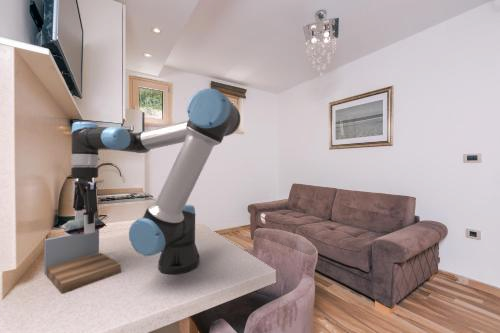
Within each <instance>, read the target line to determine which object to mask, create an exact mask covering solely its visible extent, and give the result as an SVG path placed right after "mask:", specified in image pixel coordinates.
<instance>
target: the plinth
mask: <svg viewBox="0 0 500 333" xmlns="http://www.w3.org/2000/svg"><path fill="white" fill-rule="evenodd" d="M120 273H121V263H120V262H118V261H116V260H114V259H112V258H110V257H109V256H107V255H106V254H103V253H101V252H99V253H97V254H94V255H90V256H86V257H83V258H79V259H76V260H72V261H68V262H65V263H61V264H57V265H54V266H50V267H47V275H46V277H47V278H48V279H49V281H50V282H51V283H52V285H53V286H55V288H56V289H57V290H58V292H60V294H61V295H63V294H66V293H69V292H71V291H74V290H77V289H79V288H82V287H85V286H87V285H90V284H93V283H97V282H98V281H101V280H104V279H107V278H110V277H112V276H115V275H117V274H120Z"/></svg>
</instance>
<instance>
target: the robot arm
mask: <svg viewBox="0 0 500 333" xmlns="http://www.w3.org/2000/svg"><path fill="white" fill-rule="evenodd" d="M186 112H187V117H188V120H184V121H180V122H177V123H172V124H168V125H163V126H159V127H155V128H152V129H151V128H150V129H147V130H143V131H140V132H132V131H127V130H126V129H125V128H123V127H120V126H119V127H117V126H109V127H99V125H98V124H96V123H94V122H88V121H87V122H86V121H75V122H73V123H72V124H71V133H70V135H71V153H70V155H71V156H70V160H71V161H70V163H71V164H70V165H71V166H72V167H71V171H70V172H71V173H70V175H71V178H72V179H77V181H76V182H74V191H73V192H74V193H73V205H72V209H74V211H75V212H74V220H76V219H80V218H85V222H84V234H89V233H94V232H95V218H96V213H98V212H99V208H98V206H99V205H98V196H97V182H94V183H93V179H97V178H98V177H99V168H98V166H99V161H100V159H101V158H100V157H99V151H101V150H102V151H103V150H106V151H109V150H110V151H111V150H112V151H120V152H129V153H137V154H147V153H148V152H150V151H151V150H154V149H159V148H163V147H168V146H172V145H177V144H182V143H183V144H182V146H181V148H180V150H179V152H178V154H177V156H176V159H175V161H174V163H173V165H172V167H171V169H170V171H169V173H168V176H167V177H166V180H165V182H164V184H163V186H162V188H161V190H160V193H159V195H158V196H157V199H156V201H155V202H151V203H150V204H148V206H147V208H146V210H145V211H144V212H145V213H144V214H143V216H142V217H140V218H138V219H136V220H134V221H133V223H131V224H130V227H129V231H128V239H129V241H130V243H131V244H130V245H131V246H132V248H133V249H134V250H135V251H136V252H137V253H138V254H140V255H142V256H146V257H151V256H155V255H156V254H160V255H159V256H160V257H159V259H158V262H157V269H158V271H159V272H160V273H163V274H165V275H166V274H168V275H177V274H178V275H179V274H184V273H187V272H190V271H193V270H194V269H196V268H197V267H199V265H200V260H201V259H200V258H201V257H200V254H199V251H198V248H197V244H196V207H195V206H194V205H191V204H186V203H187V202H188V200H189V198H190V196H191V193H192V191H193V190H194V188H195V185H196V184H197V181H198V179H199V177H200V175H201V173H202V172H203V169H204V167H205V165H206V163H207V161H208V160H209V157H210V155H211V153H212V151H213V149H214V147H215V146H217V145H221V143H222V142H223V140H224V138H225V137H228V136H230V135H233V134H234V133H236V132H237V130H238V129H239V127H240V124H241V114H240V110H239V109H238V107H237V106H235V105H234V104H233V103H232V101H231V100H230V99H229V97H227V95H226V94H224V93H222V92H221V91H219V90H217V89H215V88H204V89H202V90H198V91H196V92H195V93H194V94H193V95H192V96H191V97H190V99H189V101H188V103H187V107H186Z"/></svg>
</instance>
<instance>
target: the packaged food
mask: <svg viewBox="0 0 500 333" xmlns="http://www.w3.org/2000/svg"><path fill="white" fill-rule="evenodd" d="M84 222H85V218H80V219H76V220H75V219H72V220H68V221H67V222H66V223H64V224H63V225H59V228H61V229H63V231H64V232H63V233H66V234H67V235H69V234H70V235H77V234H83V233H84ZM105 227H107V224H106V223H105V222H104V221H102V220H101V219H100V218H98V217H95V231H96V230H99V231H100V230H101V229H103V228H105Z"/></svg>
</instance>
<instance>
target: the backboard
mask: <svg viewBox="0 0 500 333" xmlns="http://www.w3.org/2000/svg"><path fill="white" fill-rule="evenodd" d="M43 248H44V250H43V251H44V254H43V255H44V258H43V259H44V261H43V264H44V265H43V274H44V276H47V267H50V266H54V265H57V264H61V263H65V262H68V261H72V260H76V259H79V258H83V257H86V256H90V255H94V254H97V253H100V229H99V230H96V231H95V232H94V233H89V234H84V233H83V234H77V235H70V234H64V235H61V236H55V237H49V238H45V239H44V247H43Z"/></svg>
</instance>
